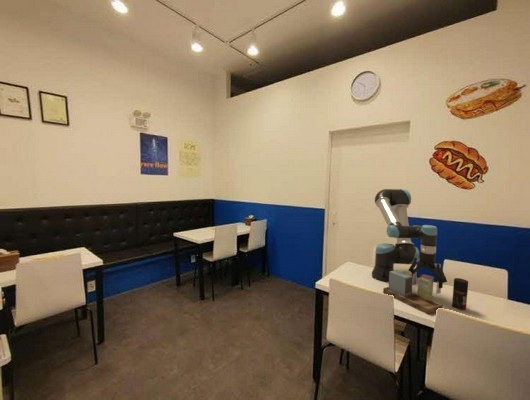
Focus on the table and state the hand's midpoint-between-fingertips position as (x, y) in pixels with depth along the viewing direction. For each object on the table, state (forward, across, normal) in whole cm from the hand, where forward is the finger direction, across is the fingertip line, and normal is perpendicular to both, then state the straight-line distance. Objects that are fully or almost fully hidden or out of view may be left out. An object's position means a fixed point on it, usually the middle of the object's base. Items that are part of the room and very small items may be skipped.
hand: (425, 288), depth 143 cm
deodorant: (+6, +14, +5) cm, 16 cm away
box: (+6, 0, 0) cm, 6 cm away
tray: (+5, -1, -12) cm, 13 cm away
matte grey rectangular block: (+4, -8, -12) cm, 15 cm away
